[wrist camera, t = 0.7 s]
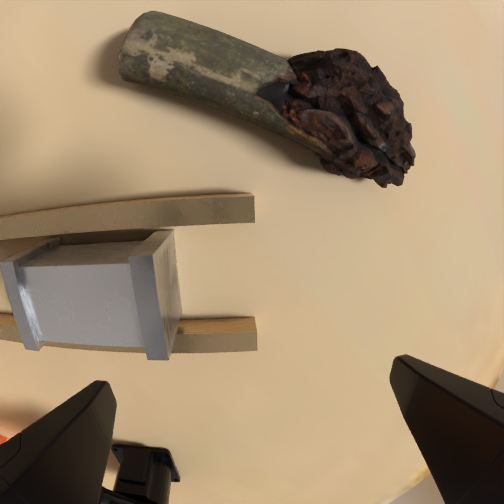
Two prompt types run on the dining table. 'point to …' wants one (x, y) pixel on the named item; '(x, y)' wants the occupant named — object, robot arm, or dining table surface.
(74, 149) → the dining table surface
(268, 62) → the grey brown wooden log
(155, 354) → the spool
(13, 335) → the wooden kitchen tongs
